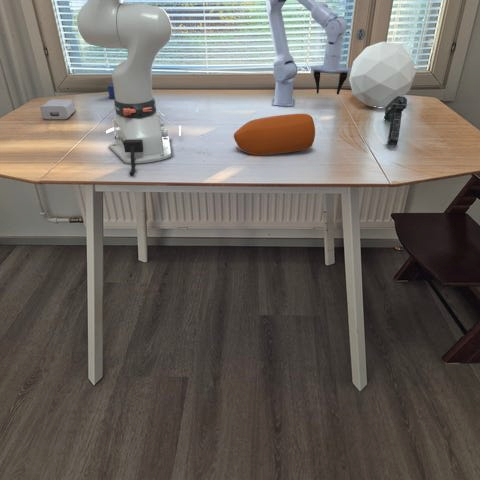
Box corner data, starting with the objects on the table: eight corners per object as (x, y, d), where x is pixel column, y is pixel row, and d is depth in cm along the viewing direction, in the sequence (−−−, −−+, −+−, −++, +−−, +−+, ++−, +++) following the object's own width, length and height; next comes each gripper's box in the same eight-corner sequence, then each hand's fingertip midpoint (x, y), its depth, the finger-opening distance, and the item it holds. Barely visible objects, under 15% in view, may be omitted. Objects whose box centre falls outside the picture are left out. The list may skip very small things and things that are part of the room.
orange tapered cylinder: (237, 164, 122) (319, 153, 123) (234, 130, 116) (319, 118, 117) (233, 149, 132) (309, 139, 133) (230, 116, 126) (309, 106, 127)
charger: (80, 107, 160) (68, 119, 148) (56, 106, 160) (42, 119, 148) (77, 94, 158) (65, 106, 145) (53, 94, 157) (39, 106, 145)
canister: (120, 95, 175) (118, 83, 172) (119, 98, 171) (117, 86, 168) (110, 96, 174) (108, 84, 171) (108, 98, 171) (106, 86, 168)
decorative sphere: (334, 74, 174) (357, 27, 150) (388, 72, 178) (419, 26, 154) (346, 121, 167) (373, 80, 143) (402, 118, 171) (437, 78, 147)
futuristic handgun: (389, 146, 153) (397, 104, 149) (399, 145, 125) (409, 94, 122) (379, 144, 154) (386, 103, 150) (386, 144, 126) (395, 93, 122)
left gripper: (101, -40, 154) (107, 2, 162) (68, -40, 138) (76, 7, 146) (115, -39, 153) (121, 3, 161) (84, -39, 137) (92, 8, 145)
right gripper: (312, 56, 146) (308, 95, 154) (353, 58, 144) (347, 97, 152) (312, 52, 152) (308, 90, 159) (352, 54, 150) (346, 92, 158)
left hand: (100, 5), depth 153 cm, fingers open, 8 cm apart
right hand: (327, 93), depth 156 cm, fingers open, 7 cm apart
